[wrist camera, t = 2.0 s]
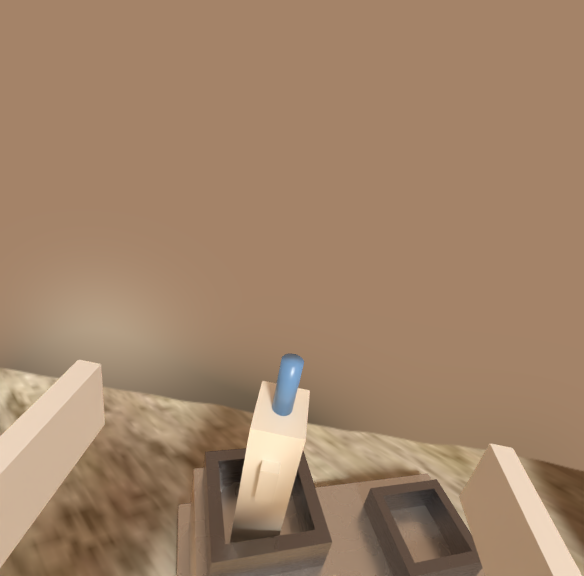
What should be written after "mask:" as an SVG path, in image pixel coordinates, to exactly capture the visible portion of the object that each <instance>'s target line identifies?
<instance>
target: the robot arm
mask: <svg viewBox="0 0 584 576" xmlns="http://www.w3.org/2000/svg"><path fill="white" fill-rule="evenodd" d="M104 425H105V417H104V401H103V386H102V372H101V364H98V363H93V362H88V361H84V360H78V361H77V362H76V363H75V364H74V365H73V366H72V367H71V368H70V369H69V370H67V371H66V372H65V373H64V374H63V375H62V376H61V377H60V378H59V379H58V380H57V381H56V382H55V383H54V384H53V385H52V386H51V387H50V388H49V389H48V390H47V391H46V392H45V393H44V394H43V395H42V396H41V397H40V398H39V399H38V400H37V401H36V402H35V403H34V404H33V405H32V406H31V407H30V408H29V409H28V410H27V411H25V412H24V413H23V414H22V415H21V416H20V417H19V418H18V419H17V420H16V421H15V422H14V423H13V424H12V425H11V426H10V427H9V428H8V429H7V430H6V431H5V432H4V433H3V434H2V435H1V436H0V568H1V566H2V565H3V564H4V562H5V561H6V560H7V558H8V557H9V555H10V554H11V553H12V551H13V550H14V549H15V547H16V546H17V544H18V543H19V542H20V540H21V539H22V538H23V536H24V535H25V533H26V532H27V531H28V529H29V528H30V527H31V525H32V524H33V522H34V521H35V520H36V518H37V517H38V516H39V514H40V513H41V511H42V510H43V509H44V507H45V506H46V505H47V503H48V502H49V500H50V499H51V498H52V496H53V495H54V494H55V492H56V491H57V489H58V488H59V487H60V485H61V484H62V482H63V481H64V480H65V478H66V477H67V476H68V474H69V473H70V471H71V470H72V469H73V467H74V466H75V465H76V463H77V462H78V460H79V459H80V458H81V456H82V455H83V454H84V452H85V451H86V449H87V448H88V447H89V445H90V444H91V443H92V441H93V440H94V438H95V437H96V436H97V434H98V433H99V432H100V430H101V429H102V427H103V426H104ZM459 498H460V501H461V504H462V507H463V510H464V513H465V516H466V519H467V522H468V525H469V528H470V531H471V534H472V537H473V540H474V543H475V546H476V549H477V552H478V555H479V558H480V561H481V564H482V567H483V570H484V573H485V576H582V575H581V573H580V571H579V569H578V567H577V566H576V564H575V562H574V560H573V558H572V556H571V555H570V553H569V551H568V549H567V547H566V545H565V543H564V542H563V540H562V538H561V536H560V534H559V532H558V531H557V529H556V527H555V525H554V523H553V521H552V519H551V518H550V516H549V514H548V512H547V510H546V508H545V506H544V505H543V503H542V501H541V499H540V497H539V495H538V494H537V492H536V490H535V488H534V486H533V484H532V482H531V481H530V479H529V477H528V475H527V473H526V471H525V470H524V468H523V466H522V464H521V462H520V460H519V458H518V457H517V455H516V453H515V451H514V449H513V448H510V447H505V446H499V445H495V444H489V446H488V448H487V449H486V451H485V453H484V455H483V456H482V458H481V460H480V462H479V463H478V465H477V467H476V469H475V470H474V472H473V474H472V475H471V477H470V479H469V481H468V482H467V484H466V486H465V488H464V489H463V491H462V493H461V495H460V496H459Z"/></svg>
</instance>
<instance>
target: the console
mask: <svg viewBox="0 0 584 576" xmlns="http://www.w3.org/2000/svg"><path fill="white" fill-rule="evenodd" d="M245 454H246V448H245V449H233V450H222V451H210V452H205V460H204V468H196V469H194V472H193V483H192V494H191V503H188V504H180V505H179V506H178V542H177V576H485V573H484V570H483V567H482V564H481V561H480V558H479V555H478V552H477V549H476V546H475V543H474V540H473V537H472V535H471V533H470V532H469V530H468V528H467V527H466V525H465V524H464V522H463V521H462V519H461V517H460V516H459V514H458V513H457V511H456V509H455V508H454V506H453V505H452V503H451V501H450V500H449V498H448V497H447V495H446V494H445V492H444V490H443V489H442V487H441V486H440V484H439V482H438V481H437V479H436V480H431V479H430V477H429V475H428V474H421V475H413V476H405V477H397V478H388V479H380V480H372V481H364V482H356V483H348V484H340V485H332V486H324V487H316V488H315V486H314V483H313V479H312V476H311V473H310V470H309V467H308V464H307V461H306V457H305V454H304V451H303V452H302V455H301V459H300V463H299V466H298V470H297V473H296V477H295V481H294V484H293V488H292V492H291V495H290V499H289V502H288V506H287V510H286V513H285V517H284V521H283V524H282V528H281V532H280V535H279V536H274V537H268V538H262V539H255V540H249V541H243V542H237V543H235V542H231V541H230V538H231V533H232V527H233V522H234V516H235V510H236V505H237V499H238V493H239V488H240V482H241V477H242V471H243V465H244V460H245Z"/></svg>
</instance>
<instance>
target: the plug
mask: <svg viewBox="0 0 584 576" xmlns="http://www.w3.org/2000/svg"><path fill="white" fill-rule="evenodd" d="M303 364H304V361H303V359H302V358H301V357H300V356H298V355H296V354H285V355H284V356H283V357H282V360H281V366H280V370H279V375H278V380H277V384H276V383H271V382H266V381H262V385H261V388H260V392H259V396H258V400H257V404H256V408H255V412H254V415H253V419H252V423H251V427H250V431H249V437H248V443H247V448H246V454H245V460H244V465H243V471H242V477H241V482H240V488H239V493H238V499H237V505H236V510H235V516H234V522H233V527H232V533H231V538H230V541H231V542H235V543H237V542H243V541H249V540H255V539H262V538H268V537H274V536H279V535H280V532H281V528H282V524H283V521H284V517H285V513H286V510H287V506H288V502H289V499H290V495H291V492H292V488H293V484H294V481H295V477H296V473H297V470H298V466H299V463H300V459H301V455H302V452H303V448H304V444H305V441H306V430H307V418H308V406H309V392H310V391H309V390H304V389H300V388H298V385H299V381H300V377H301V373H302V368H303Z"/></svg>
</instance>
